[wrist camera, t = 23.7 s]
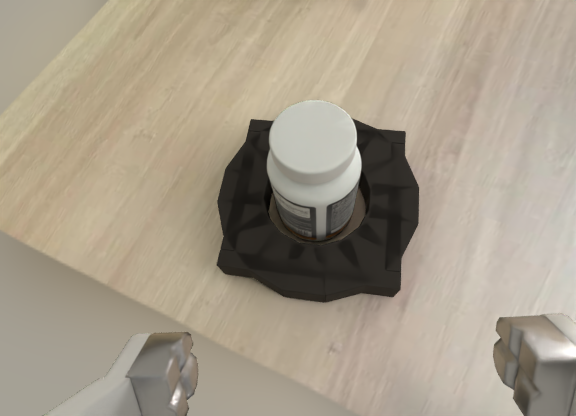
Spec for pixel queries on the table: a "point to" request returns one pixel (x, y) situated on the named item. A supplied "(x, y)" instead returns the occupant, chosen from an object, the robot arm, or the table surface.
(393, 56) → the table surface
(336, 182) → the pill bottle
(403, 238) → the base pad
